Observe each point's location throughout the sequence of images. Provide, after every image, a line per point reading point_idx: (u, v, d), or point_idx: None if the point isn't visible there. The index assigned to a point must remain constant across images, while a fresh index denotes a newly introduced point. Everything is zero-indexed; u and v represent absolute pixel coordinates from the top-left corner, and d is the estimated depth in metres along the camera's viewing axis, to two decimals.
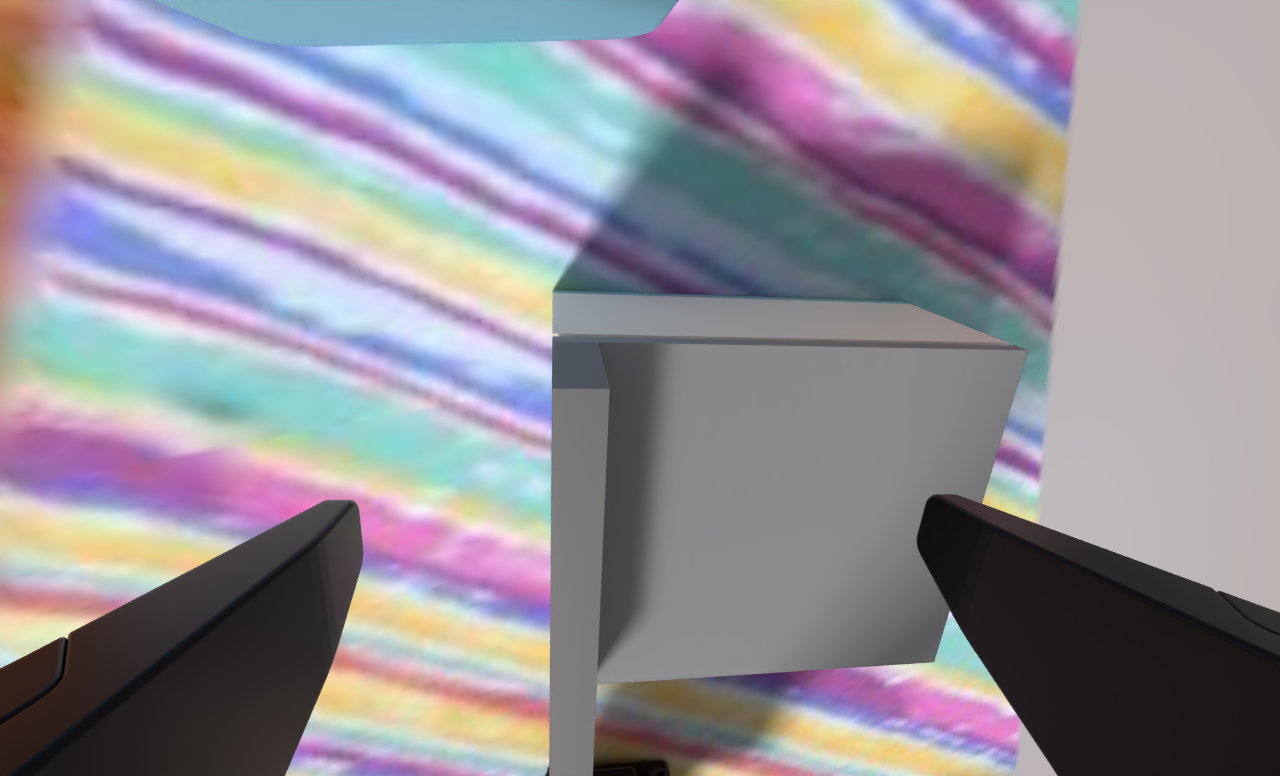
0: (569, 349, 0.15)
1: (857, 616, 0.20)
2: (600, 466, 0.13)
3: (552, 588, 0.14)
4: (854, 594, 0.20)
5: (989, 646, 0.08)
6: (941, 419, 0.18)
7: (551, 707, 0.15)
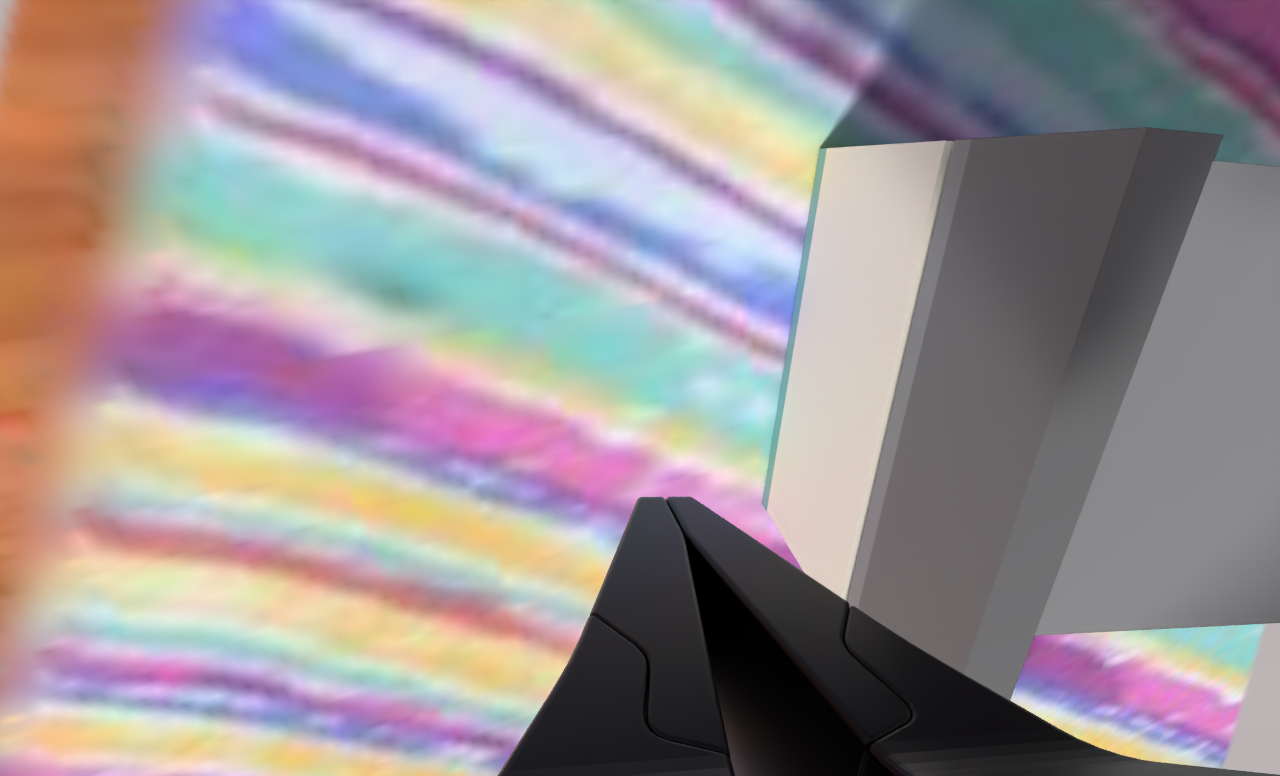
0: None
1: (1229, 558, 0.16)
2: (1164, 271, 0.09)
3: (1035, 470, 0.09)
4: (1234, 528, 0.16)
5: None
6: None
7: (972, 654, 0.11)
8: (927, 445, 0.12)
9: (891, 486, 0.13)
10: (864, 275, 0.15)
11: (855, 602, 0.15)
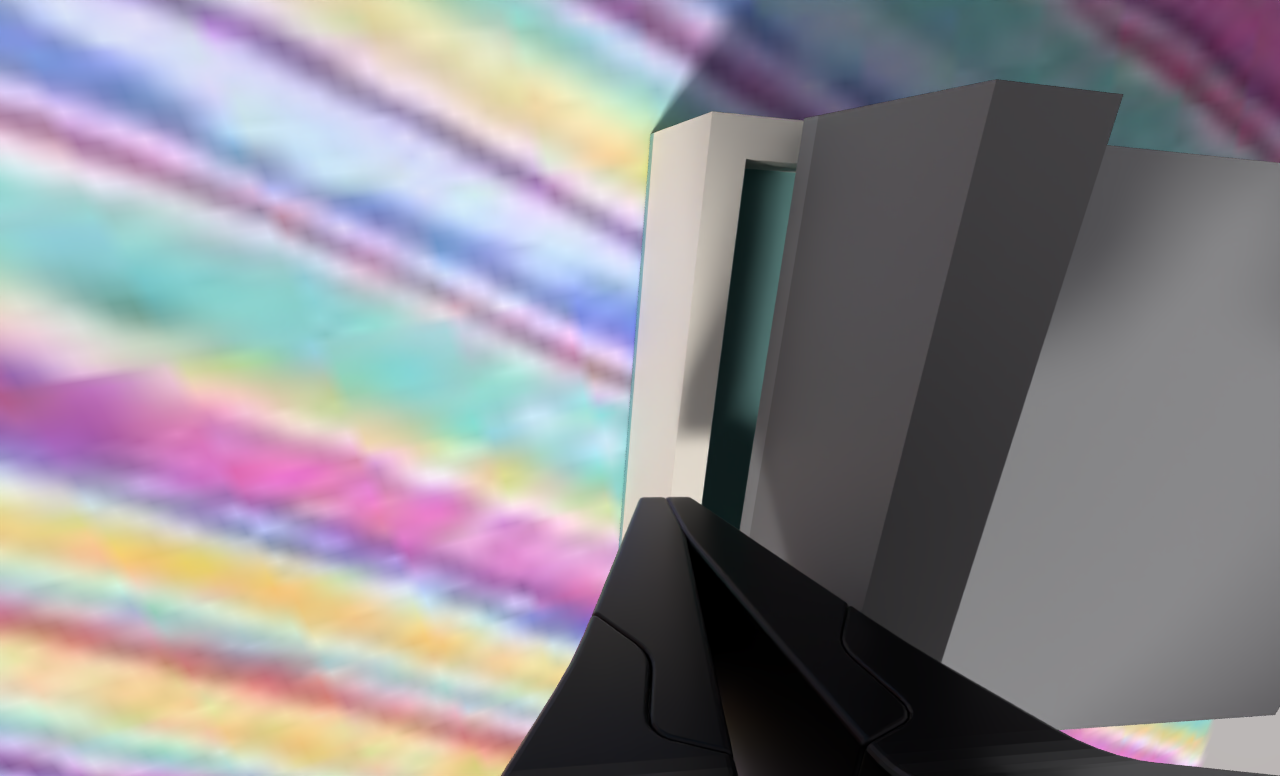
0: None
1: (1190, 644, 0.13)
2: (1044, 306, 0.06)
3: (872, 591, 0.07)
4: (1196, 610, 0.13)
5: None
6: None
7: None
8: (776, 524, 0.09)
9: None
10: (668, 290, 0.12)
11: None
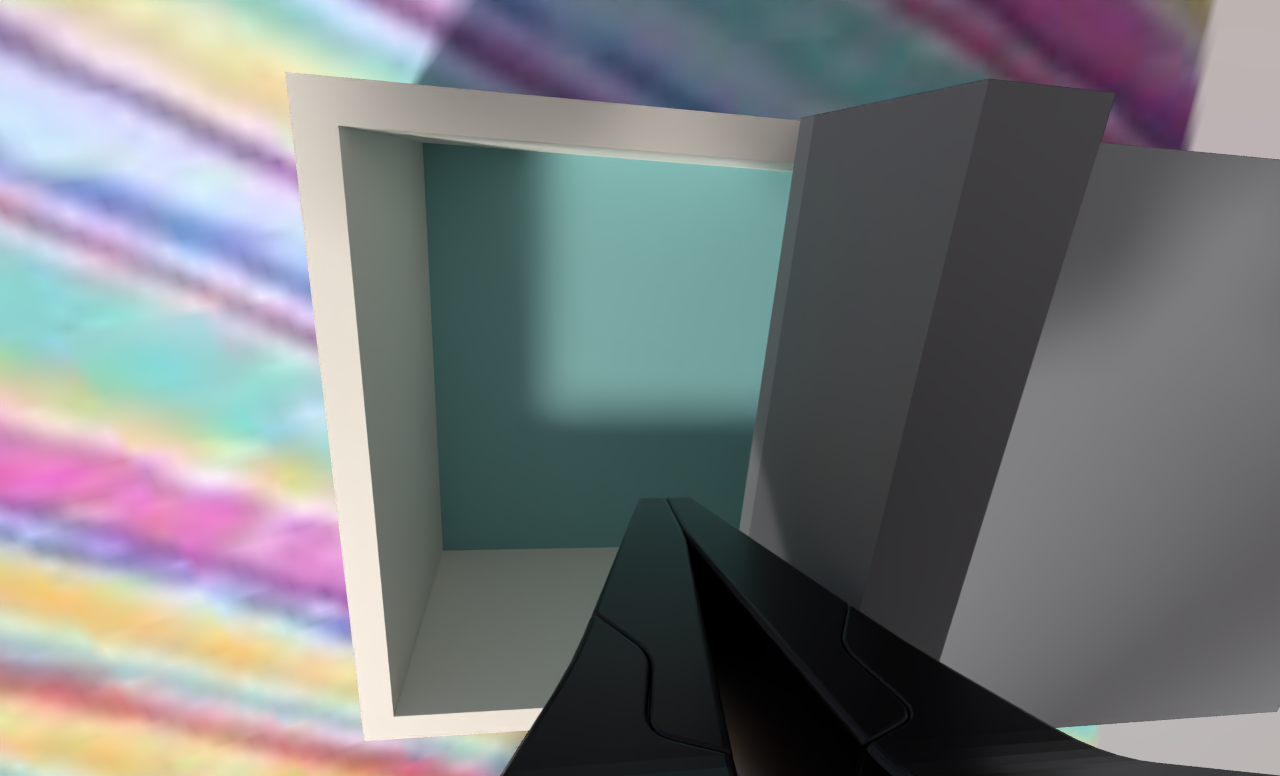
0: None
1: (1191, 641, 0.13)
2: (1038, 304, 0.06)
3: (869, 589, 0.07)
4: (1197, 607, 0.13)
5: None
6: None
7: None
8: (774, 523, 0.09)
9: None
10: None
11: None
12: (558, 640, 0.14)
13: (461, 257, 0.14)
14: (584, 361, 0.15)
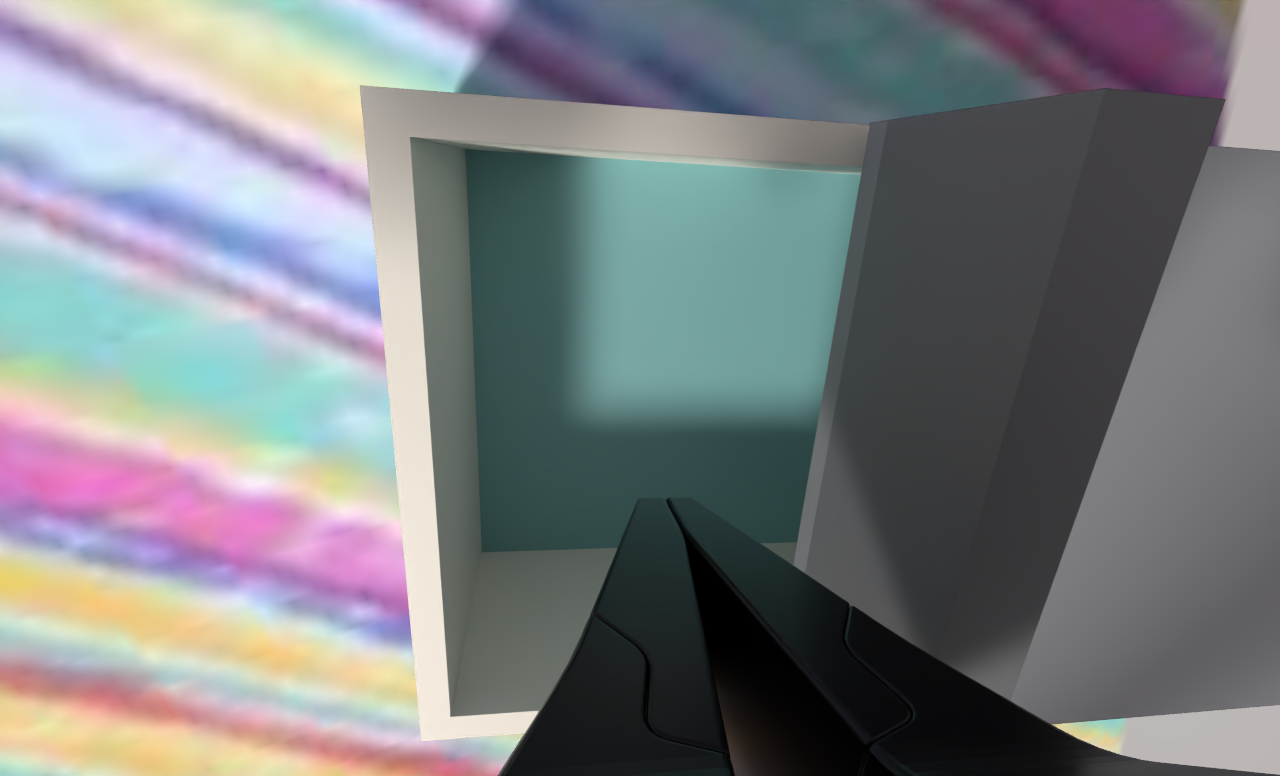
0: None
1: (1240, 632, 0.13)
2: (1141, 305, 0.06)
3: (965, 585, 0.07)
4: (1246, 598, 0.13)
5: None
6: None
7: None
8: (844, 521, 0.09)
9: (810, 564, 0.11)
10: None
11: None
12: None
13: (502, 261, 0.14)
14: (622, 363, 0.16)
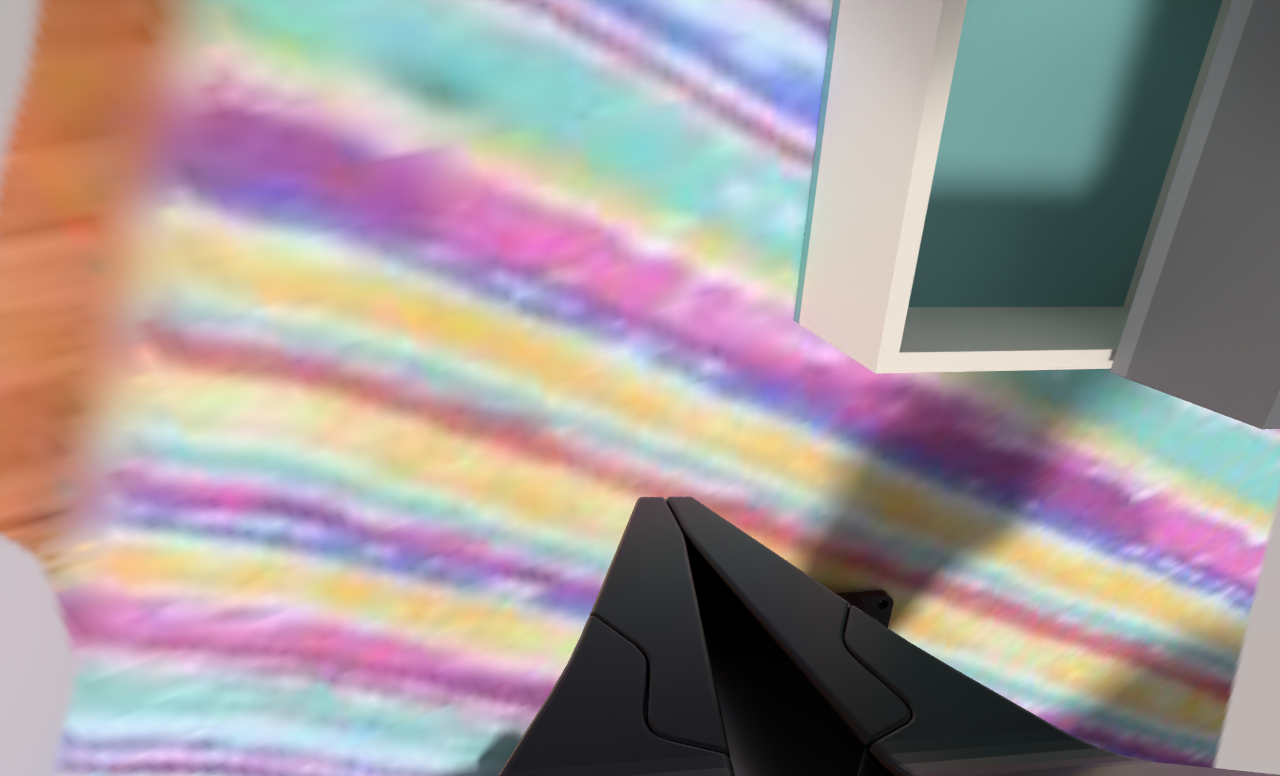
0: None
1: None
2: None
3: None
4: None
5: None
6: None
7: None
8: (1245, 145, 0.14)
9: (1189, 206, 0.15)
10: (894, 20, 0.15)
11: (1134, 335, 0.17)
12: (962, 333, 0.19)
13: None
14: (946, 139, 0.20)
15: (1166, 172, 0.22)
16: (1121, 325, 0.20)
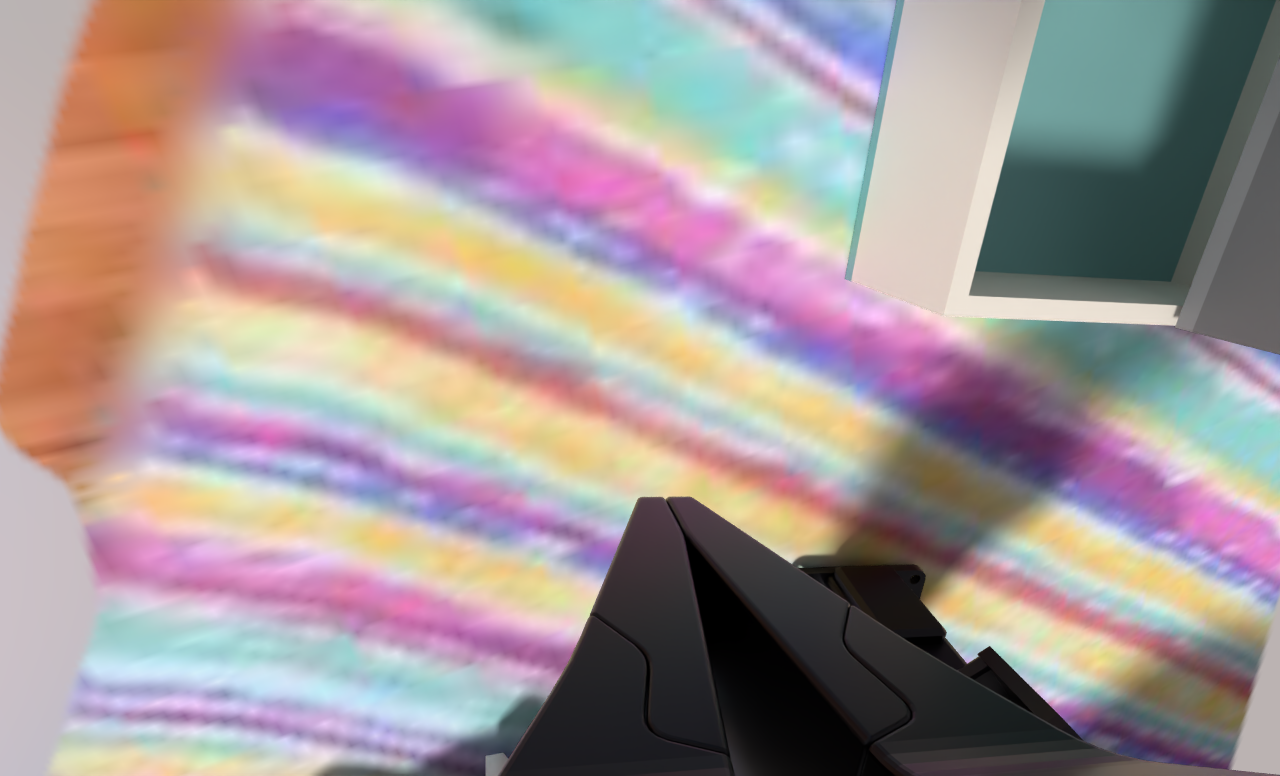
0: None
1: None
2: None
3: None
4: None
5: None
6: None
7: None
8: None
9: (1268, 154, 0.15)
10: None
11: (1203, 288, 0.16)
12: (1024, 288, 0.18)
13: None
14: None
15: (1221, 146, 0.22)
16: (1176, 292, 0.20)
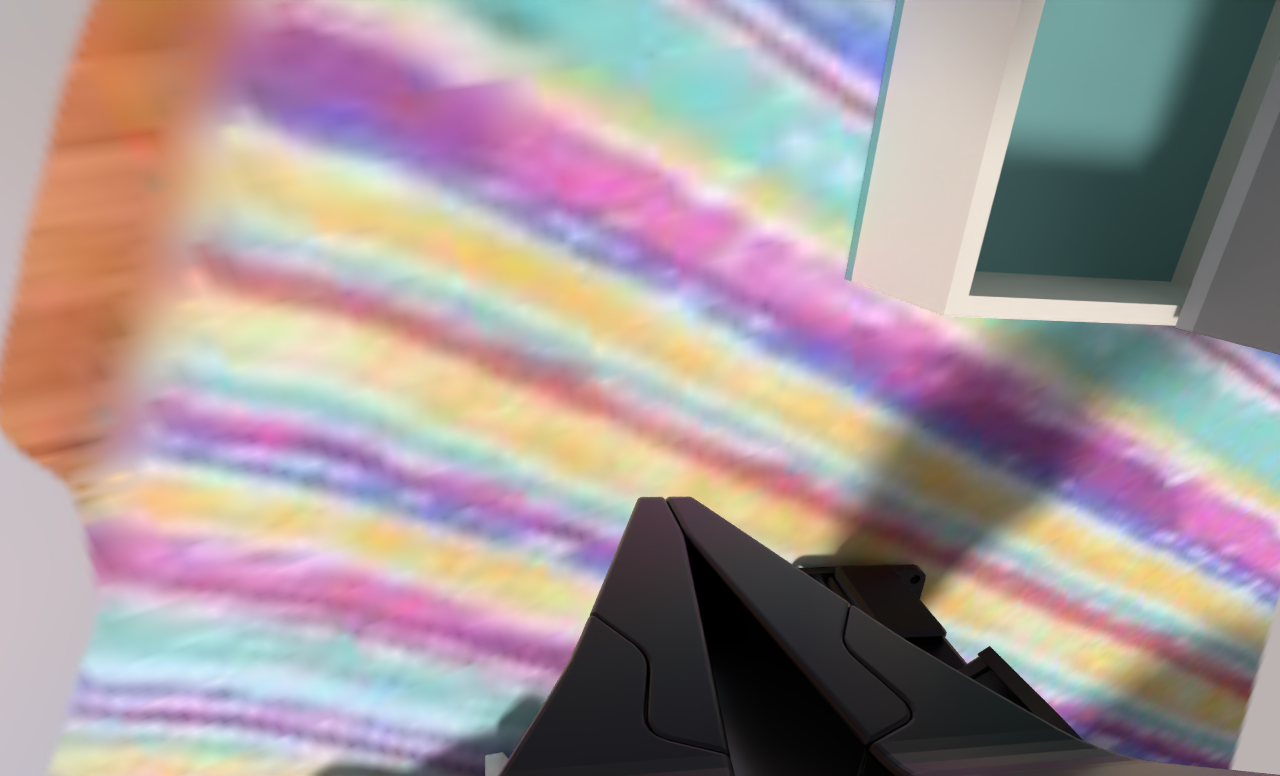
0: None
1: None
2: None
3: None
4: None
5: None
6: None
7: None
8: None
9: (1268, 154, 0.15)
10: None
11: (1203, 288, 0.16)
12: (1024, 288, 0.18)
13: None
14: None
15: (1221, 146, 0.22)
16: (1176, 292, 0.20)
